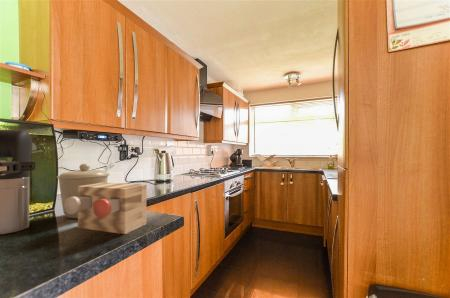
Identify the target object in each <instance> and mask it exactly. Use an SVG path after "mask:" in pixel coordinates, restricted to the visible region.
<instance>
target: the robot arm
mask: <svg viewBox="0 0 450 298" xmlns="http://www.w3.org/2000/svg"><path fill="white" fill-rule="evenodd" d="M32 153H33V139H32V136H31V134H30V132H29V131H27V130H22V129H20V130H19V129H18V130H17V129H16V130H14V129H0V159H1V158H5V159H7V158H9V159H10V158H11V162H10V161H6V160H4V159H3V160H2V159H1V160H0V235H5V234H10V233H11V234H12V233H16V232H20V231H22V230H26V229H28V228H29V227H30V174H31V173H30V172H31V171H35V170H36V162H35V161H32Z"/></svg>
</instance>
